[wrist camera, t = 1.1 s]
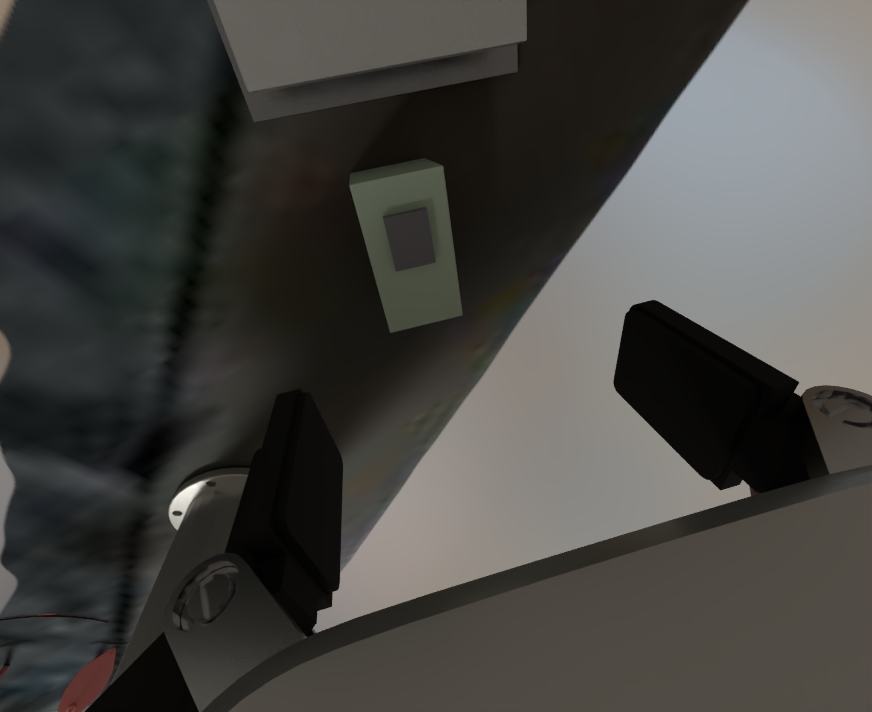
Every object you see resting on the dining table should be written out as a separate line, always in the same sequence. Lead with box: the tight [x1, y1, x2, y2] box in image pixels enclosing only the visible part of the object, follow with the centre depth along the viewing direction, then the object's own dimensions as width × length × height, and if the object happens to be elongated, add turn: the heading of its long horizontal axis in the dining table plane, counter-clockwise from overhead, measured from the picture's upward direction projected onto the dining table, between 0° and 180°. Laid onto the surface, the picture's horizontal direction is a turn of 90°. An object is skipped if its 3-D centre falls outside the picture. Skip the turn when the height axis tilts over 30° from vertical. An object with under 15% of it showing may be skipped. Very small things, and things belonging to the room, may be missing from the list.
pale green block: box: [349, 158, 463, 333], centre depth 23 cm, size 9×5×7 cm, turn 9°
